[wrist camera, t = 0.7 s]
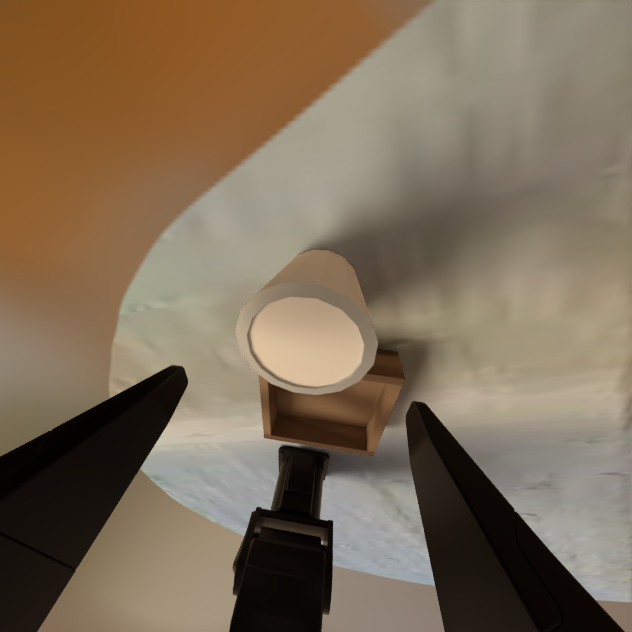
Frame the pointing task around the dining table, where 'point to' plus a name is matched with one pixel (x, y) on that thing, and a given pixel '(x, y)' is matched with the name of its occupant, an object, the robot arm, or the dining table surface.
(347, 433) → the walnut crate
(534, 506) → the dining table surface
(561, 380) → the dining table surface
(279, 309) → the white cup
